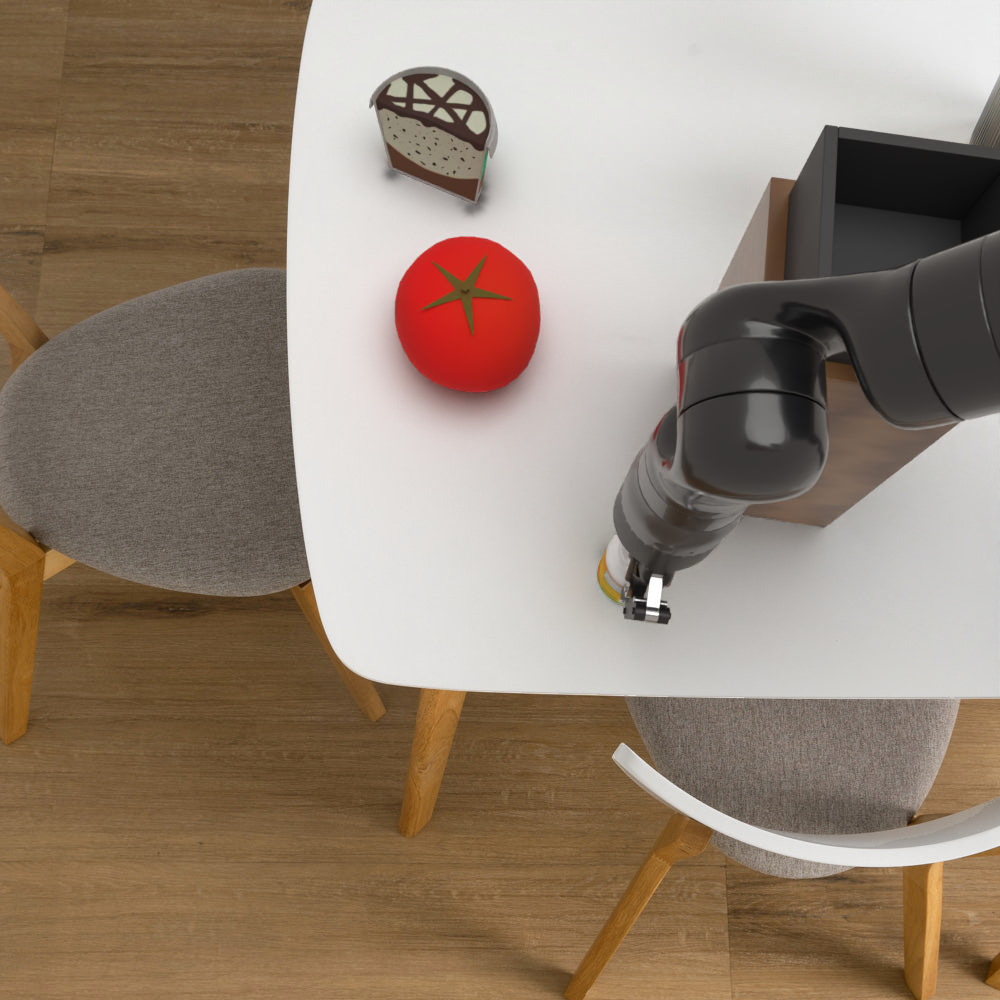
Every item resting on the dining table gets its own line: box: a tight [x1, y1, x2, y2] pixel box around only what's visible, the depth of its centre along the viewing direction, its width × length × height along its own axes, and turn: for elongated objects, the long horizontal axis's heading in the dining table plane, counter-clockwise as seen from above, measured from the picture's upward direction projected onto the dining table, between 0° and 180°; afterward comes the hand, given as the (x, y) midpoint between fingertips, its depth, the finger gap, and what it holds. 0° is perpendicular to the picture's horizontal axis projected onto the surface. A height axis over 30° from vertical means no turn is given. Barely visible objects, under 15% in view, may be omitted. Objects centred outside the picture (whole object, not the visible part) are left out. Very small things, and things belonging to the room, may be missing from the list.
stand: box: [716, 176, 961, 528], centre depth 74 cm, size 14×14×28 cm
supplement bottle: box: [596, 533, 628, 607], centre depth 79 cm, size 5×5×10 cm
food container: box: [368, 65, 499, 205], centre depth 91 cm, size 12×6×10 cm, turn 65°
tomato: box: [394, 235, 542, 393], centre depth 85 cm, size 14×13×10 cm
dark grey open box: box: [784, 124, 1000, 365], centre depth 58 cm, size 12×12×7 cm
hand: (637, 561), depth 78 cm, fingers closed on supplement bottle, 5 cm apart
